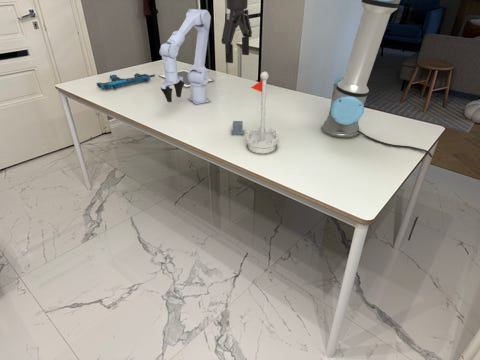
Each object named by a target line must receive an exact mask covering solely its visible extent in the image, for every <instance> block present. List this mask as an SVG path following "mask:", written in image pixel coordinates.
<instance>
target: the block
mask: <svg viewBox="0 0 480 360" xmlns="http://www.w3.org/2000/svg"><path fill="white" fill-rule="evenodd" d="M243 124H244V123H243V120H233V121H232V135H234V136H235V135H236V136H237V135H238V136H242V135H243V133H244V132H243V131H244V130H243V128H244V127H243V126H244V125H243Z"/></svg>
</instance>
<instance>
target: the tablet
mask: <svg viewBox="0 0 480 360" xmlns="http://www.w3.org/2000/svg"><path fill="white" fill-rule="evenodd" d="M189 71H190V70H187V69H182V70H181V69H180V70H177V74H178V77H179V76H180V77H183V81H182V82H184V86H183V88H190V86H191V84H190V82H189V81H188V73H189ZM158 76H159V77H161V78H163V79H164V80H165V79H166V77H165V73H163V74H158ZM210 82H214V80H213V79H211V78H209V80H208V83H210Z"/></svg>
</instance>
